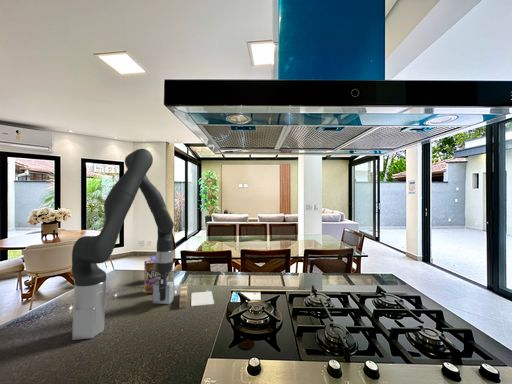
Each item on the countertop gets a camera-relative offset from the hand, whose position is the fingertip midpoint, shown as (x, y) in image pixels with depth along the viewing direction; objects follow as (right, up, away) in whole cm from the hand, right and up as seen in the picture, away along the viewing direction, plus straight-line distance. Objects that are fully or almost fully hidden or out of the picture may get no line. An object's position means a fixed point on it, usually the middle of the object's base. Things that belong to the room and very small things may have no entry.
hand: (163, 297), depth 111 cm
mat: (+17, -2, +4) cm, 18 cm away
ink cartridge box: (-17, -4, +31) cm, 35 cm away
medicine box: (0, -2, 0) cm, 2 cm away
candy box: (-10, -3, +13) cm, 16 cm away
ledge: (+9, -2, +2) cm, 9 cm away
